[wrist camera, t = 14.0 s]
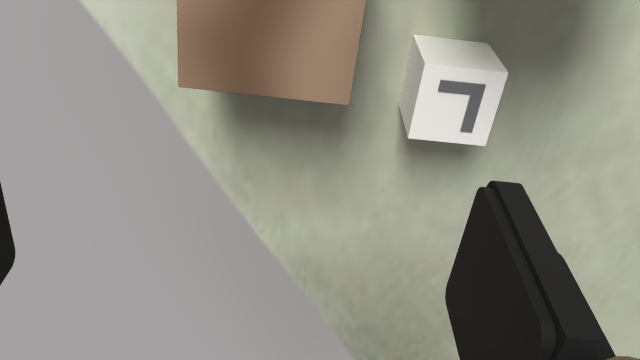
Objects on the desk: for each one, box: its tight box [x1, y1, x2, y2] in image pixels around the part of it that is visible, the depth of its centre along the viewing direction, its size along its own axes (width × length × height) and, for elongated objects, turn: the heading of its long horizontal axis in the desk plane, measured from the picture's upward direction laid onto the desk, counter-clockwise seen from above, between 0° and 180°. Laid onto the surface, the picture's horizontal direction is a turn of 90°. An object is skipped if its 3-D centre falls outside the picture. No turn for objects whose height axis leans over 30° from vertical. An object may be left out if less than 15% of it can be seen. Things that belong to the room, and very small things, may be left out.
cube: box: [399, 35, 508, 146], centre depth 30 cm, size 4×4×4 cm
